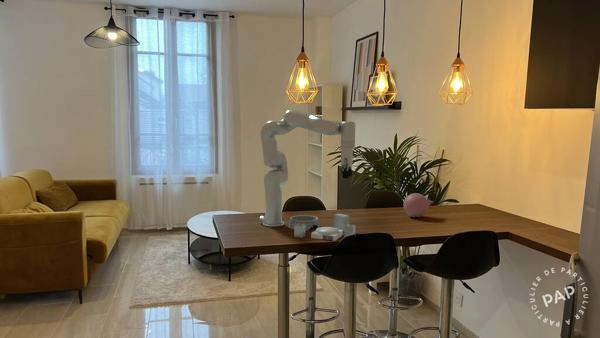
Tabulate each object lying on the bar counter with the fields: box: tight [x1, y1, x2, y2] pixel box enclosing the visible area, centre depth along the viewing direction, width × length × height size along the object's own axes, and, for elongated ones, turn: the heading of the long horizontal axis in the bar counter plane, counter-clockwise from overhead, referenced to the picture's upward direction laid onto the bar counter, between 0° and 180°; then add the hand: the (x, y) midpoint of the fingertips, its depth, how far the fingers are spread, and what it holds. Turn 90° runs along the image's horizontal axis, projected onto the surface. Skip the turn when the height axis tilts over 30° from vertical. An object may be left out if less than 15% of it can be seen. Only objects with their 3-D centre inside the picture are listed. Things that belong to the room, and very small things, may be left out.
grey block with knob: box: [293, 224, 307, 239], centre depth 220 cm, size 4×4×6 cm
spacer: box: [343, 223, 356, 238], centre depth 220 cm, size 4×4×6 cm
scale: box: [310, 226, 344, 242], centre depth 220 cm, size 13×14×4 cm
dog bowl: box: [288, 214, 321, 231], centre depth 241 cm, size 17×18×5 cm
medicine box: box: [333, 213, 350, 233], centre depth 233 cm, size 8×4×9 cm, turn 43°
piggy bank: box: [402, 192, 434, 218], centre depth 269 cm, size 15×20×15 cm
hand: (347, 177), depth 225 cm, fingers open, 9 cm apart
